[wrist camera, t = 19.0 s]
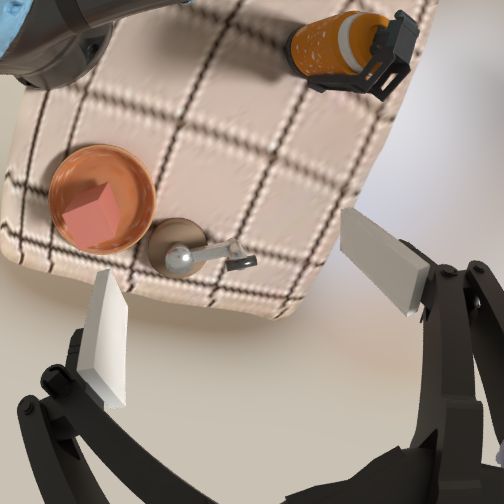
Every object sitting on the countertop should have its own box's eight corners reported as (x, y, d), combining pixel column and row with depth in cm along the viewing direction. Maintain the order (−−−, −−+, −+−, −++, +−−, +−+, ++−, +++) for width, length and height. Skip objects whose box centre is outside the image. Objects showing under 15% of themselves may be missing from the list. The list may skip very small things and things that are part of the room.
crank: (168, 267, 43) (170, 293, 38) (162, 244, 41) (163, 268, 36) (245, 252, 46) (257, 275, 40) (243, 229, 44) (256, 249, 38)
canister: (344, 42, 35) (445, 35, 19) (323, 101, 40) (420, 120, 23) (295, 17, 32) (385, -17, 15) (271, 79, 36) (354, 76, 20)
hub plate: (139, 229, 42) (138, 237, 40) (196, 209, 43) (198, 216, 41) (160, 276, 47) (161, 286, 45) (212, 259, 48) (215, 267, 46)
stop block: (76, 194, 34) (61, 214, 28) (108, 181, 35) (98, 199, 29) (89, 226, 37) (79, 250, 31) (121, 214, 37) (114, 237, 32)
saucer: (70, 128, 32) (64, 130, 29) (173, 162, 39) (173, 167, 36) (45, 229, 37) (39, 237, 35) (137, 257, 44) (136, 267, 42)
